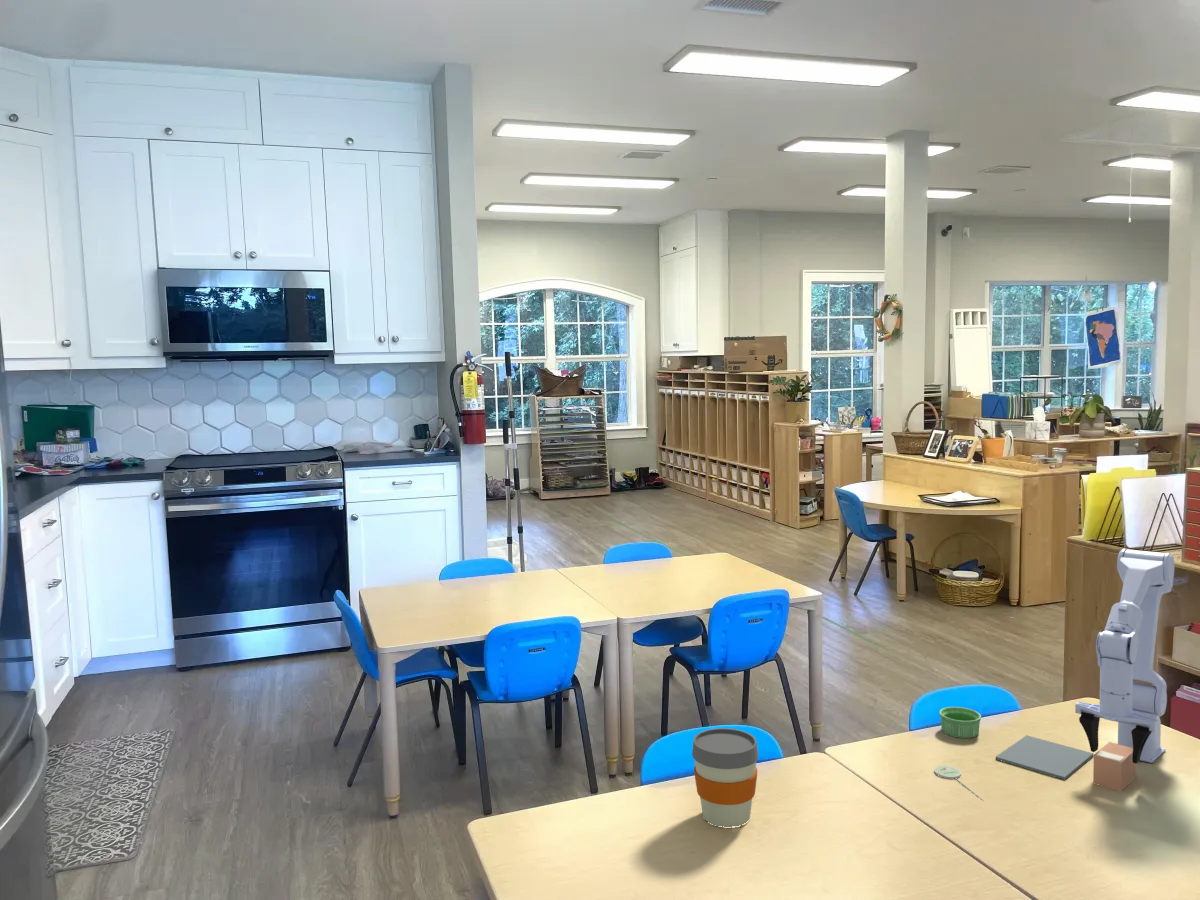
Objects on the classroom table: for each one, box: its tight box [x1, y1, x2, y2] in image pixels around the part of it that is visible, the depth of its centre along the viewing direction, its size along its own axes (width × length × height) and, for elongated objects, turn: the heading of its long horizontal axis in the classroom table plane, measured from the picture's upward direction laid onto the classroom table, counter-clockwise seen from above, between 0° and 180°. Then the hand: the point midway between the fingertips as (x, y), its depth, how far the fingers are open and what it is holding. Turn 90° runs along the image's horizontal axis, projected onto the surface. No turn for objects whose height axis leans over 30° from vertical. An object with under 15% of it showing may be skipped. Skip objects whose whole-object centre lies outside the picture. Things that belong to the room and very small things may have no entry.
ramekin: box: [939, 706, 982, 739], centre depth 202 cm, size 9×9×4 cm
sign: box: [934, 765, 985, 802], centre depth 177 cm, size 5×1×15 cm
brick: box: [1092, 741, 1137, 792], centre depth 176 cm, size 9×5×6 cm, turn 132°
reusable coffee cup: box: [691, 727, 760, 827], centre depth 166 cm, size 13×13×15 cm
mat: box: [995, 735, 1094, 780], centre depth 187 cm, size 16×14×1 cm
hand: (1114, 755), depth 176 cm, fingers open, 7 cm apart
